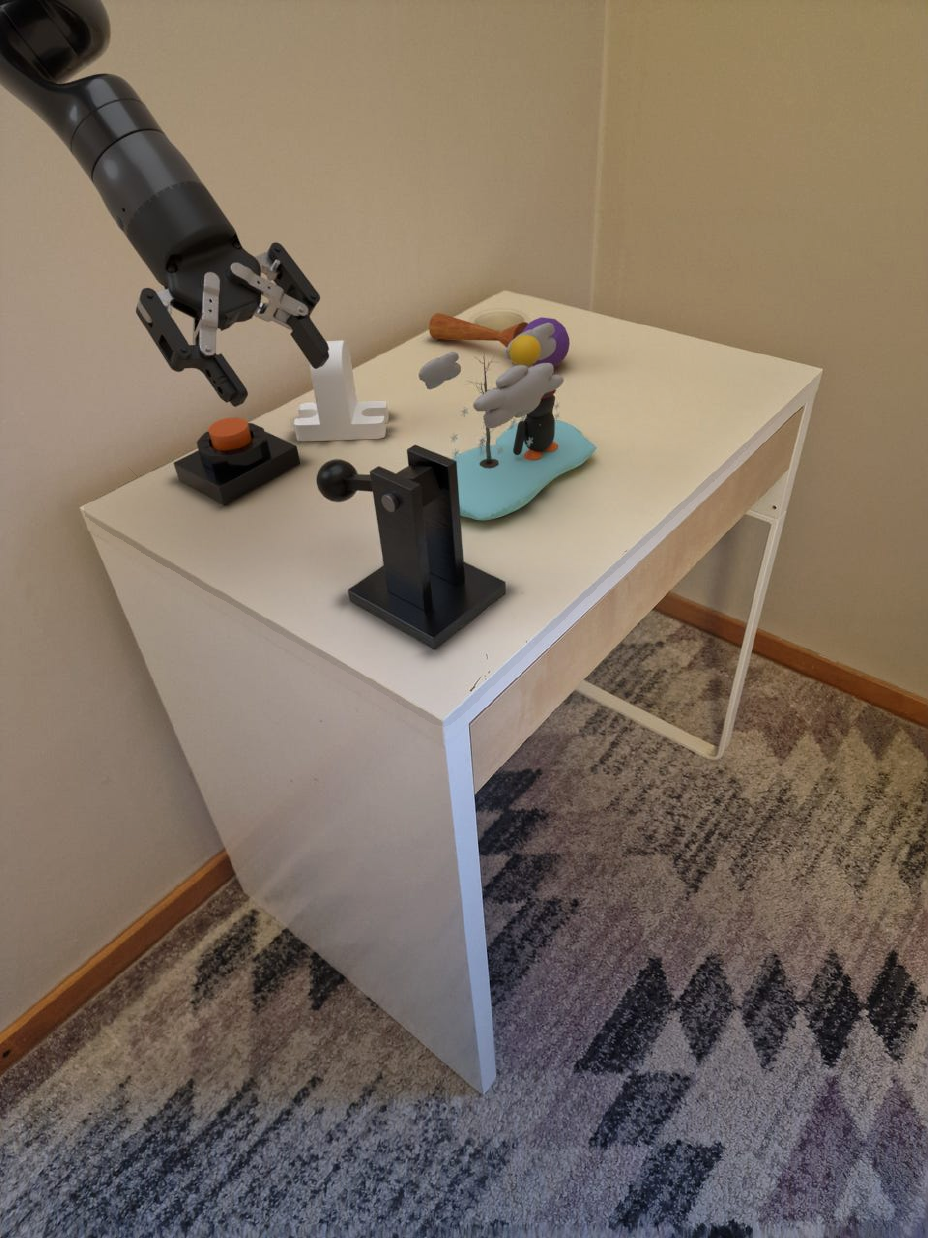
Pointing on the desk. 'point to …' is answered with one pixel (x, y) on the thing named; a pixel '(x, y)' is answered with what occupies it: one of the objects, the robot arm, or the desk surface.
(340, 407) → the white mounting bracket
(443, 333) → the kendama
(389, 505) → the switch bracket
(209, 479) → the button housing
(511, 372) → the penguin figurine
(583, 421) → the desk surface
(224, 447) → the button
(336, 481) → the lever
